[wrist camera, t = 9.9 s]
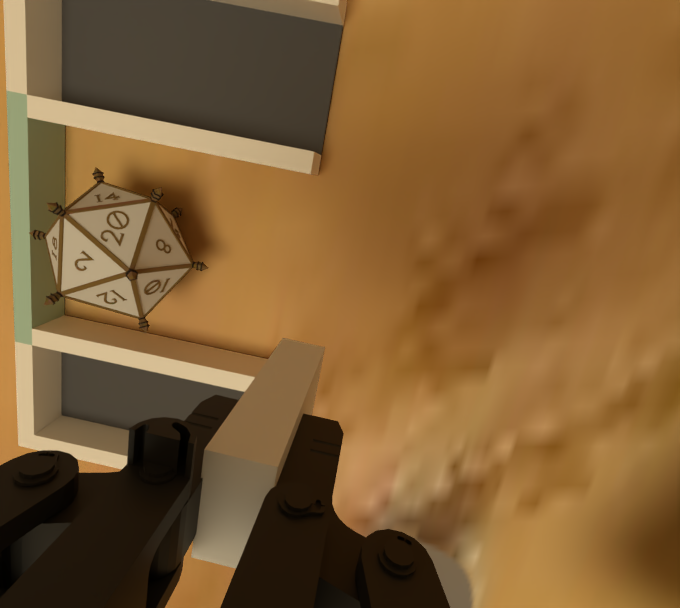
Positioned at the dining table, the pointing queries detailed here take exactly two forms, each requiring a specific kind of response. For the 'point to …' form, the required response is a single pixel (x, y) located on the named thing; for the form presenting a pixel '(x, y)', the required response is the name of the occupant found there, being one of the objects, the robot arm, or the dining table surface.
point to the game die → (116, 250)
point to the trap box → (49, 187)
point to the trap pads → (192, 111)
